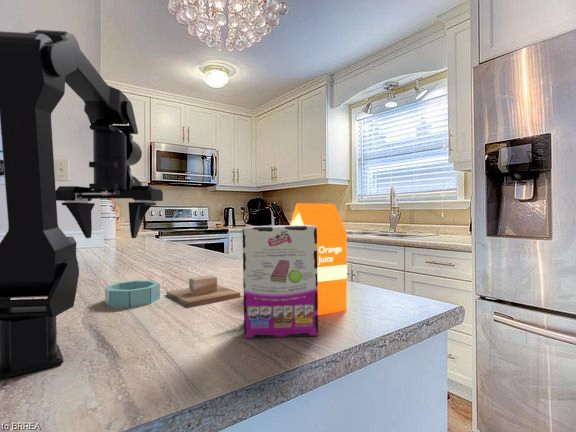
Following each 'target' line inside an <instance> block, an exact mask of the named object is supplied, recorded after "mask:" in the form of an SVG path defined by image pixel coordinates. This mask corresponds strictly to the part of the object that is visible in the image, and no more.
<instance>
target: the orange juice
mask: <svg viewBox="0 0 576 432" xmlns="http://www.w3.org/2000/svg"><path fill="white" fill-rule="evenodd" d="M294 208H295V209H294V211H293V214H292V217H291V220H290V223H289V225H314V226H317V268H318V316H320V315H327V314H332V313H338V312H339V313H340V312H343V311H344V312H345V311H347V310H348V309H347V307H348V303H347V301H348V300H347V298H348V296H347V294H348V293H347V292H348V291H347V289H348V285H347V282H348V281H347V278H348V263H347V262H348V261H347V260H348V259H347V258H348V257H347V256H348V254H347V253H348V252H347V251H348V250H347V248H348V246H347V242H348V240H347V237H348V235H347V234H348V233H347V231H346V228H345V226H344V223H343V221H342V218H341V217H340V214H339V211H338V209H337V206H336V204H335V203H299V202H298V203H296V205H295V207H294Z"/></svg>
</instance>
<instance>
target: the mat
mask: <svg viewBox="0 0 576 432" xmlns="http://www.w3.org/2000/svg"><path fill="white" fill-rule="evenodd" d="M163 296H164V297H165V298H168V299H170V300H171V301H173V302H175V303H177V304H179V305H181V306H183V307H185V308H186V309H191V308H195V307H197V308H198V307H202V306H206V305H210V304H216V303H221V302H226V301H230V300H235V299H241V298H244V295H240V297H236V298H231V299H226V300H221V301H216V302H211V303H206V304H201V305H196V306H191V307H188V306H187V305H185V304H183V303H181V302H179V301H177V300H175V299H173V298H171V297H169V296H167V294H164V295H163Z"/></svg>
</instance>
